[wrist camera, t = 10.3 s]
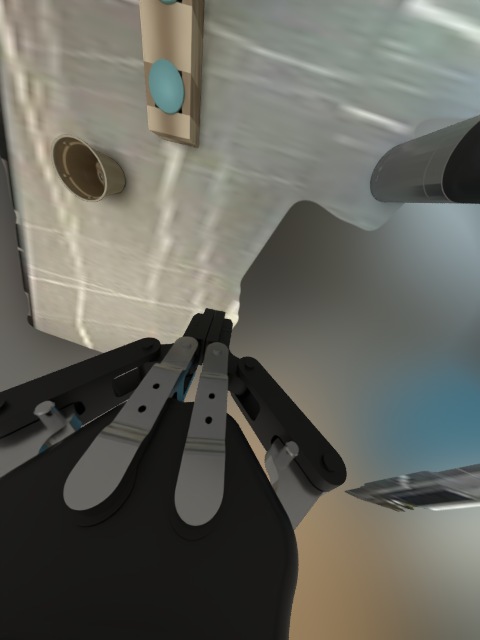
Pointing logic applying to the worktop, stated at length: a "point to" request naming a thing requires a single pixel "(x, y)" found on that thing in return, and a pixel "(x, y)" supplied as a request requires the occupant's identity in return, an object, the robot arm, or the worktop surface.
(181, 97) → the teal peg
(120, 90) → the worktop surface
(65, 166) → the flower pot
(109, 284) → the worktop surface
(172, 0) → the teal peg
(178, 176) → the worktop surface
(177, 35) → the oak block
